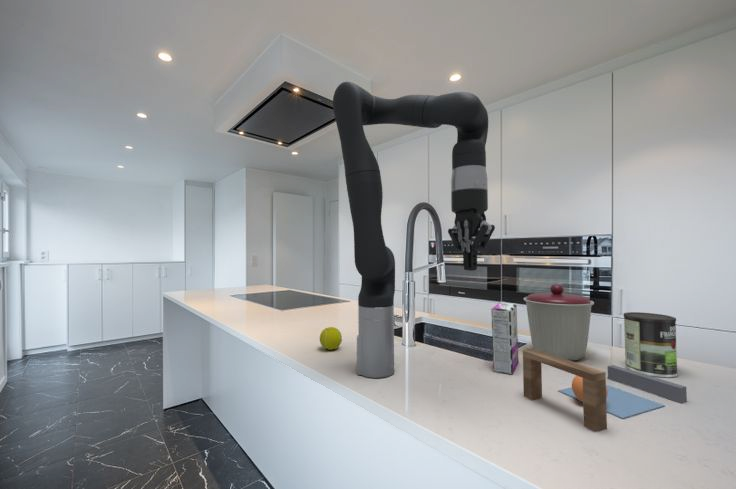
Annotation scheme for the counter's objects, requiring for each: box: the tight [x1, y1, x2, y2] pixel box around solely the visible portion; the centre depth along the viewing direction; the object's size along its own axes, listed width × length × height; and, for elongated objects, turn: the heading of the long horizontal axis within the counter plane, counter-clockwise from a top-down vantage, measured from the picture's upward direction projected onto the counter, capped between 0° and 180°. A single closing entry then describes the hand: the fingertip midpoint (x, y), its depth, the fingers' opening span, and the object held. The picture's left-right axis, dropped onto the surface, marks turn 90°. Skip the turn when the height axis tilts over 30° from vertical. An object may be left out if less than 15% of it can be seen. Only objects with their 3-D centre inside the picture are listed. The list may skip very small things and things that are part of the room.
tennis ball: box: [319, 326, 343, 351], centre depth 104 cm, size 7×7×7 cm
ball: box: [571, 375, 608, 403], centre depth 66 cm, size 6×6×6 cm
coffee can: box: [623, 311, 678, 379], centre depth 84 cm, size 10×10×14 cm
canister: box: [523, 283, 595, 362], centre depth 96 cm, size 18×18×21 cm
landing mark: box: [557, 384, 666, 420], centre depth 68 cm, size 13×13×1 cm
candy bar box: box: [490, 302, 520, 375], centre depth 87 cm, size 11×5×16 cm, turn 148°
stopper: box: [607, 364, 688, 404], centre depth 72 cm, size 2×14×3 cm, turn 22°
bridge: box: [522, 348, 608, 433], centre depth 63 cm, size 3×15×10 cm, turn 22°
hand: (470, 270), depth 70 cm, fingers closed
